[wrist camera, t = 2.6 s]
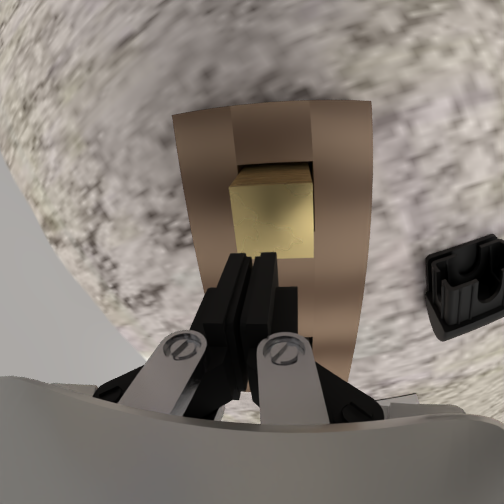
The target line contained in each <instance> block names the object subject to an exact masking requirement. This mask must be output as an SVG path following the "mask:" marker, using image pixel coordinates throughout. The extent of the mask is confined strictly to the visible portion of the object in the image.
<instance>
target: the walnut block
mask: <svg viewBox="0 0 504 504" xmlns="http://www.w3.org/2000/svg"><path fill="white" fill-rule="evenodd" d="M172 119H173V126H174V133H175V139H176V146H177V153H178V159H179V165H180V171H181V177H182V183H183V189H184V194H185V200H186V206H187V211H188V216H189V222H190V227H191V232H192V237H193V242H194V247H195V252H196V257H197V261H198V266H199V271H200V275H201V280H202V284H203V289H204V293H206V291H207V289H208V288H210V287H217V285H218V282H219V280H220V277H221V275H222V272H223V270H224V267H225V265H226V262H227V260H228V257H229V255H230V253H237V245H236V238H235V231H234V223H233V216H232V208H231V200H230V193H229V186H230V185H231V184H232V182H233V181H234V180H235V178H236V177H237V176H238V174H239V173H240V172H241V170H242V169H243V168H244V166H245V165H248V164H259V163H276V162H299V161H309V171H310V175H311V179H312V183H313V222H314V258H284V259H277V266H278V283H279V287H290V286H298V334H299V335H301V336H303V337H309V344H310V346H311V348H312V352H313V356H314V360H315V361H316V362H317V363H318V364H320V365H321V366H323V367H325V368H326V369H328V370H329V371H331V372H332V373H334V374H335V375H337V376H338V377H340V378H341V379H343V380H344V381H346V382H348V377H349V373H350V368H351V363H352V358H353V353H354V348H355V343H356V338H357V332H358V326H359V320H360V314H361V307H362V300H363V293H364V285H365V277H366V269H367V259H368V249H369V238H370V224H371V208H372V182H373V129H372V105H371V101H357V100H301V101H280V102H265V103H254V104H244V105H235V106H226V107H219V108H211V109H205V110H198V111H192V112H186V113H181V114H176V115H172ZM254 260H255V259H252V263H253V264H254ZM241 392H251V391H250V387H249V382H248V384H247V390H246V391H241Z"/></svg>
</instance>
